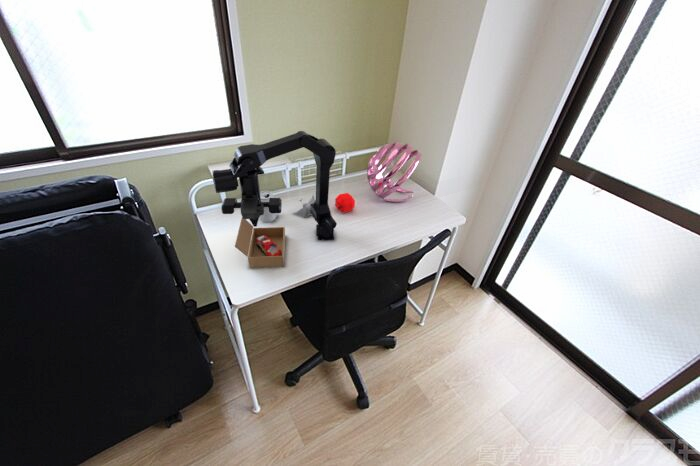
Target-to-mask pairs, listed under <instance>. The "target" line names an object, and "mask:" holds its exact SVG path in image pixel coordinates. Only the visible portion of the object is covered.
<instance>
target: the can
mask: <svg viewBox="0 0 700 466" xmlns="http://www.w3.org/2000/svg"><path fill="white" fill-rule="evenodd" d="M260 197H261V201H264V202H269V198H275V195H274V194H273V192H272V191H269V190H262V191H261V190H260ZM276 218H277V213H270V212H269V208H265V210H264V214H263V215H261V216H260V217H259V219H258V220H259V221H261V222H263V223H271V222H273V221H274V220H276Z"/></svg>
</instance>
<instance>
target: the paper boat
mask: <svg viewBox="0 0 700 466" xmlns="http://www.w3.org/2000/svg"><path fill="white" fill-rule="evenodd" d="M315 200H316V197H315V196H314V195H312V196H311V197H310V199H309V201H308V202H307V203H303V202H302V201H303V199H302V198H301V199H299V200H298V201H299V202H301V204H302V208H300V209H299V210H298V211H296V212H295V213H294V215H296V216H298V217H302V218H307V217H309V216H312V215H311V213H310V209H311V208H310V204H314V202H315Z"/></svg>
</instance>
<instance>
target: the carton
mask: <svg viewBox="0 0 700 466" xmlns="http://www.w3.org/2000/svg"><path fill="white" fill-rule="evenodd" d="M263 235H266V236H267V237H269V238H270V239H271V240H272V241H273V243H274V244H275V245H276V244H277V245H276V246H277V247H278V248H279V249H280V250H281V252H282V256H266V255H265V254H264V253H263V252H262V251H261V250H260V249H259V248H258V246H257V244H256V239H257V238H258V237H260V236H263ZM285 249H286V227H285V226H275V227H273V226H272V227H269V226H268V227H253V231H252V236H251V242H250V247H249V252H248V256H247V260H248V266H249V269H257V268H258V269H260V268H281V267H282V268H283V267H285V252H286V250H285Z"/></svg>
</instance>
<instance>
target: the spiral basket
mask: <svg viewBox="0 0 700 466" xmlns="http://www.w3.org/2000/svg"><path fill="white" fill-rule="evenodd" d="M402 144H403V143H402V142H401V141H394V142H393V143H392V144H390V143H385V144H383V145H382V146H381V147H380V148H379V149H378V150H377V151H376V153H374V155H372V156H371V158H370V159H369V161H368V163H367V169H366V178H367V182H368V185H369V186H370V189H371V190H372V191H373V193H374V194H375V195H376V196H377V197H379V198H380V199H381V200H384V201H386V202H391V203H401V202H406V201H407V200H409V199H411V198H412V197H413V196H414V195H413V193H414V191H413V190H407V189H403V188H400V187H401V186H402V185H403V184H405V182H406V181H407V179H408V178H410V176H411V175H412V174H413V172H414V171H415V169H416V168H417V167H418V165H419V163H420V161H421V160H422V152H421V151H420V150H419V149H414V150H413V148H414V147H413V144H410V143H405V144H403V145H402ZM403 152H404V153H403ZM402 153H403V154H402ZM401 154H402V155H401ZM400 155H401V157H400V158H399V160H397V162H396V163H395V165H394V166H393V167H392V168H390V170H389V171H388V172H387V173H386V174H385V175H384V176H383V173H384V172H385V171H386V170H387V169H388V167H389V166H390V165H391V164H392V163H393V162H394V161H395V159H396V158H397V157H399V156H400ZM413 157H415V158H414V159H413V161H412V163H411V164H409V165H410V166H408V168H407V169H406V170H405V172H404V173H403V174H402V176H401V177H400V178H399V179H397V180H396V182H395V183H394V184H393V183H392V182H391V179H392V178H393V177H394V176H395V175H396V174H397V172H398V171H399V170H400V169H402V167H403V166H404V165H406V163H408V161H410V160H411V159H412V158H413ZM383 159H384V160H383ZM386 187H388V189H387V190H386V191H384V190H385V188H386ZM394 192H399V193H404V194H411V195H409V196H407V197H404V198H402V199H390V198H387V197H389V196H390V195H392V194H393V193H394Z"/></svg>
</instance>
